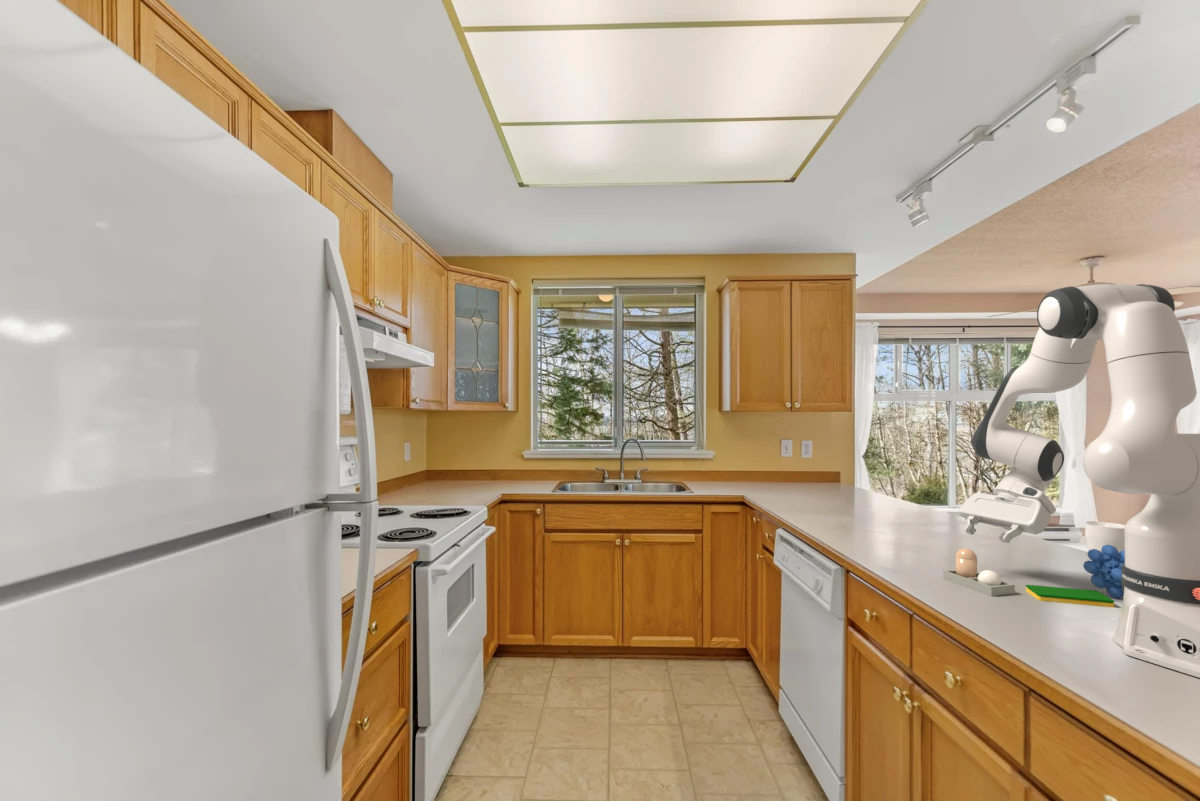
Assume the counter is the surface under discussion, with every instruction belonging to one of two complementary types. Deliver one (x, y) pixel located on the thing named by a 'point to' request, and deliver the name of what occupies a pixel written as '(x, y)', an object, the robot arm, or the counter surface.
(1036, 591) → the dish sponge
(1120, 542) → the cup
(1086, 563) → the grapes
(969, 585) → the carton
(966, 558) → the tan rounded cylinder
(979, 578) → the white egg
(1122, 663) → the counter surface
